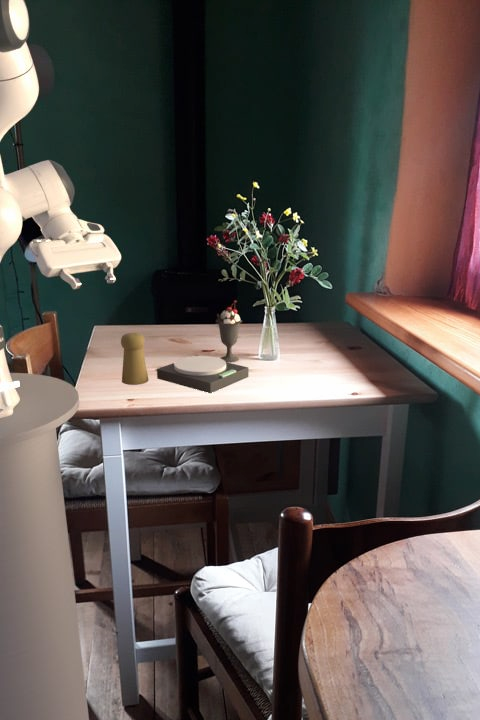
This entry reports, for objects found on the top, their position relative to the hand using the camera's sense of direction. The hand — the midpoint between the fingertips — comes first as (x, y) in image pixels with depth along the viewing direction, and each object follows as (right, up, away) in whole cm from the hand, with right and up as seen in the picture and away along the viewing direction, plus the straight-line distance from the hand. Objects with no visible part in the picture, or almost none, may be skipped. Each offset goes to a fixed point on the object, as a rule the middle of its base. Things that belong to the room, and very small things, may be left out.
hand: (95, 284), depth 141 cm
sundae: (+30, -16, +16) cm, 38 cm away
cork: (+9, -22, 0) cm, 24 cm away
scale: (+24, -21, +3) cm, 33 cm away
